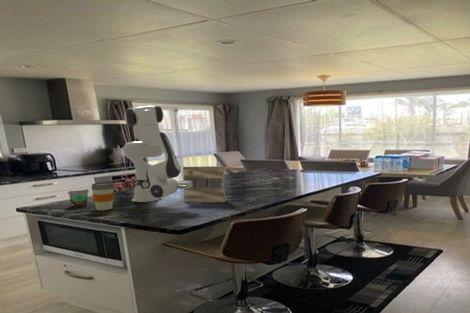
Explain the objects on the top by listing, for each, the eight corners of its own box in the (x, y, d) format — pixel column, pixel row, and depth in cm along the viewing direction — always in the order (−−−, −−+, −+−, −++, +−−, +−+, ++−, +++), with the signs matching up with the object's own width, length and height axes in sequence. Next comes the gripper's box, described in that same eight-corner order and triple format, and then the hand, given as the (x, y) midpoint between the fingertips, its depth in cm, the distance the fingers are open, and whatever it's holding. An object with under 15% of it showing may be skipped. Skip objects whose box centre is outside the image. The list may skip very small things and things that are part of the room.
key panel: (188, 199, 233) (186, 166, 232) (226, 200, 227) (225, 165, 225) (183, 201, 227) (182, 167, 225) (223, 202, 220) (222, 166, 219)
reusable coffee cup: (114, 209, 210) (113, 184, 209) (91, 211, 206) (90, 185, 205) (115, 205, 222) (114, 181, 221) (94, 207, 219) (92, 183, 218)
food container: (71, 208, 219) (70, 191, 218) (68, 206, 224) (67, 190, 223) (92, 205, 227) (91, 189, 226) (89, 203, 232) (88, 188, 231)
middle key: (200, 186, 227) (199, 178, 226) (209, 186, 225) (208, 178, 225) (197, 187, 222) (196, 179, 222) (206, 187, 220) (206, 179, 220)
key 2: (212, 185, 226) (212, 178, 226) (221, 186, 224) (221, 178, 224) (210, 187, 221) (209, 179, 221) (219, 187, 220) (219, 179, 219)
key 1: (188, 185, 230) (188, 178, 230) (197, 185, 228) (197, 178, 228) (185, 187, 225) (185, 179, 225) (194, 187, 224) (194, 179, 223)
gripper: (187, 180, 195) (196, 177, 208) (152, 180, 200) (163, 177, 213) (187, 192, 195) (196, 187, 209) (153, 191, 201) (164, 187, 214)
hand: (179, 182), depth 211 cm, fingers closed
